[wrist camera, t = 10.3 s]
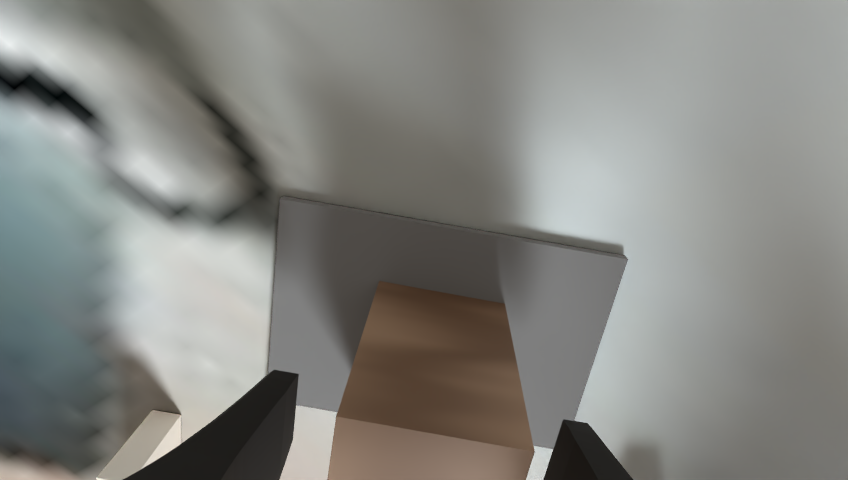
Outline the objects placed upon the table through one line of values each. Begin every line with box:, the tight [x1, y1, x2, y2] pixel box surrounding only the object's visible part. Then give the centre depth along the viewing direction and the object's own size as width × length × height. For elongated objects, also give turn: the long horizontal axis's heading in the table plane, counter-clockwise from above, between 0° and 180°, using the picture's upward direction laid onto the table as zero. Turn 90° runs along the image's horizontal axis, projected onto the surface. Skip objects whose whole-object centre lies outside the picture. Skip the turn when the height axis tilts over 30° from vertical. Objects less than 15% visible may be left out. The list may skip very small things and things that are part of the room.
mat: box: [268, 196, 628, 449], centre depth 16 cm, size 10×7×1 cm
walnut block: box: [327, 281, 534, 480], centre depth 13 cm, size 4×4×6 cm
